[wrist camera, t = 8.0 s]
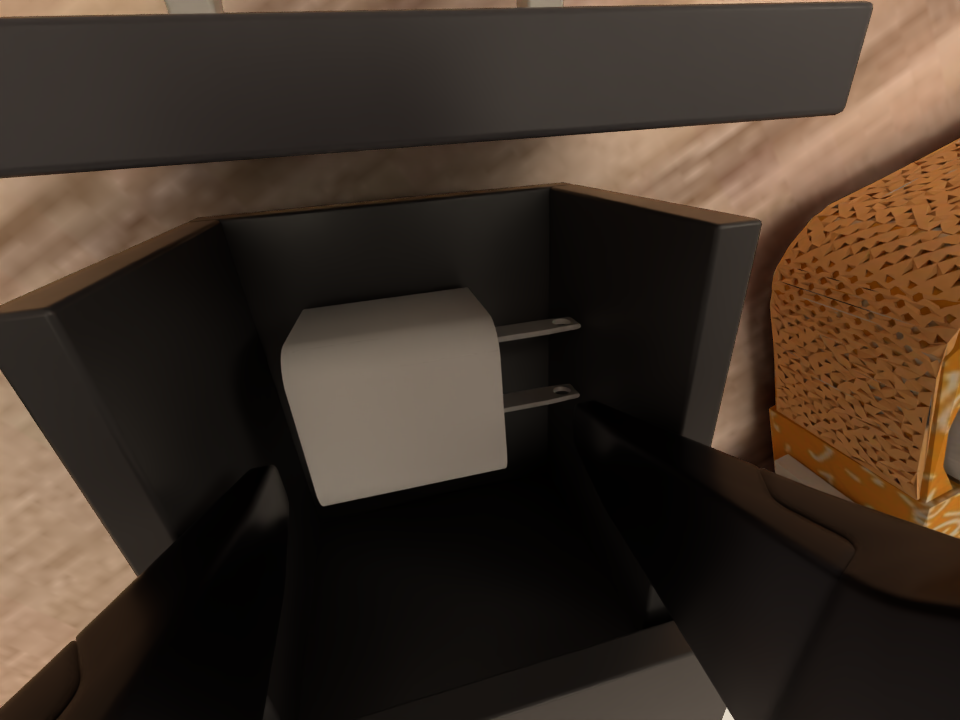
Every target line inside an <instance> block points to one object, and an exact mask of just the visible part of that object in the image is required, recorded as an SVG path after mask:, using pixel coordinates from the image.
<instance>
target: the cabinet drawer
mask: <svg viewBox="0 0 960 720" xmlns="http://www.w3.org/2000/svg"><path fill="white" fill-rule="evenodd" d="M164 1H165V4H166V7H167V10H168V13H169V14H139V15H84V16H29V17H0V178H11V177H24V176H37V175H50V174H63V173H76V172H90V171H103V170H116V169H129V168H142V167H156V166H169V165H182V164H195V163H208V162H221V161H235V160H248V159H261V158H274V157H287V156H300V155H314V154H327V153H340V152H353V151H366V150H380V149H393V148H406V147H419V146H432V145H445V144H459V143H472V142H485V141H498V140H511V139H524V138H538V137H551V136H564V135H577V134H590V133H604V132H617V131H630V130H643V129H656V128H669V127H683V126H696V125H709V124H722V123H735V122H748V121H762V120H775V119H788V118H801V117H814V116H828V115H836V114H838V113H840V112H842V111H843V109H844V108H845V106H846V102H847V99H848V95H849V92H850V88H851V84H852V81H853V77H854V74H855V70H856V67H857V63H858V60H859V56H860V53H861V49H862V45H863V42H864V38H865V35H866V31H867V28H868V24H869V21H870V17H871V14H872V10H873V4H872V3H870V2H867V1H855V2H800V3H745V4H689V5H634V6H579V7H563V0H517V8H469V9H414V10H359V11H304V12H249V13H224V10H223V6H222V2H221V0H164ZM761 226H762V223H761V221H760V220H758V219H755V218H750V217H744V216H739V215H734V214H728V213H723V212H718V211H713V210H707V209H702V208H697V207H691V206H686V205H681V204H676V203H670V202H665V201H660V200H654V199H649V198H644V197H638V196H633V195H628V194H623V193H617V192H612V191H607V190H601V189H596V188H591V187H586V186H580V185H573V184H569V183H564V182H561V183H551V184H541V185H530V186H520V187H510V188H499V189H489V190H479V191H468V192H458V193H448V194H437V195H427V196H417V197H406V198H396V199H386V200H375V201H365V202H355V203H345V204H334V205H324V206H314V207H303V208H293V209H283V210H272V211H262V212H252V213H241V214H231V215H221V216H210V217H200V218H196V219H194V220H192V221H190V222H188V223H185V224H183V225H181V226H178V227H176V228H174V229H172V230H169V231H167V232H165V233H163V234H160V235H158V236H156V237H153V238H151V239H149V240H147V241H144V242H142V243H140V244H138V245H135V246H133V247H131V248H129V249H126V250H124V251H122V252H120V253H117V254H115V255H113V256H111V257H108V258H106V259H104V260H102V261H99V262H97V263H95V264H93V265H90V266H88V267H86V268H84V269H81V270H79V271H77V272H75V273H72V274H70V275H68V276H66V277H63V278H61V279H59V280H56V281H54V282H52V283H50V284H47V285H45V286H43V287H41V288H38V289H36V290H34V291H32V292H29V293H27V294H25V295H23V296H20V297H18V298H16V299H14V300H11V301H9V302H7V303H5V304H2V305H0V369H1V371H2V372H3V374H4V375H5V377H6V378H7V380H8V381H9V383H10V384H11V386H12V387H13V389H14V391H15V392H16V394H17V395H18V397H19V398H20V400H21V401H22V403H23V404H24V406H25V407H26V409H27V410H28V412H29V413H30V415H31V416H32V418H33V419H34V421H35V422H36V424H37V425H38V427H39V428H40V430H41V431H42V433H43V434H44V436H45V437H46V439H47V440H48V442H49V443H50V445H51V447H52V448H53V450H54V451H55V453H56V454H57V456H58V457H59V459H60V460H61V462H62V463H63V465H64V466H65V468H66V469H67V471H68V472H69V474H70V475H71V477H72V478H73V480H74V481H75V483H76V484H77V486H78V487H79V489H80V490H81V492H82V493H83V495H84V496H85V498H86V499H87V501H88V503H89V504H90V506H91V507H92V509H93V510H94V512H95V513H96V515H97V516H98V518H99V519H100V521H101V522H102V524H103V525H104V527H105V528H106V530H107V531H108V533H109V534H110V536H111V537H112V539H113V540H114V542H115V543H116V545H117V546H118V548H119V549H120V551H121V552H122V554H123V555H124V557H125V558H126V560H127V562H128V563H129V565H130V566H131V568H132V569H133V571H134V572H135V574H136V575H137V577H138V576H139V575H141V574H142V573H143V572H144V571H145V570H146V569H147V568H148V567H149V566H150V565H151V564H152V563H153V562H154V561H155V560H156V559H157V558H158V557H159V556H160V555H161V554H162V553H163V552H164V551H165V550H166V549H167V548H169V547H170V546H171V545H172V544H173V543H174V542H175V541H176V540H177V539H178V538H179V537H180V536H181V535H182V534H183V533H184V532H185V531H186V530H187V529H188V528H189V527H190V526H191V525H192V524H193V523H194V522H196V521H197V520H198V519H199V518H200V517H201V516H202V515H203V514H204V513H205V512H206V511H207V510H208V509H209V508H210V507H211V506H212V505H213V504H214V503H215V502H216V501H217V500H218V499H219V498H220V497H221V496H222V495H224V494H225V493H226V492H227V491H228V490H229V489H230V488H231V487H232V486H233V485H234V484H235V483H236V482H237V481H238V480H239V479H240V478H241V477H242V476H243V475H244V474H245V473H246V472H247V471H249V470H250V469H252V468H256V467H261V466H266V465H274V466H275V467H276V468H277V470H278V472H279V475H280V477H281V480H282V483H283V486H284V488H285V491H286V494H287V497H288V501H289V522H288V542H287V563H286V580H285V590H284V597H283V603H282V609H281V615H280V621H279V627H278V633H277V639H276V645H275V651H274V656H273V662H272V668H271V674H270V680H269V686H268V692H267V698H266V704H265V710H264V715H263V720H351V719H354V718H357V717H361V716H364V715H367V714H370V713H374V712H377V711H380V710H383V709H386V708H390V707H393V706H396V705H399V704H403V703H406V702H409V701H412V700H416V699H419V698H422V697H425V696H429V695H432V694H435V693H438V692H442V691H445V690H448V689H451V688H455V687H458V686H461V685H464V684H468V683H471V682H474V681H477V680H481V679H484V678H487V677H490V676H494V675H497V674H500V673H503V672H506V671H510V670H513V669H516V668H519V667H523V666H526V665H529V664H532V663H536V662H539V661H542V660H545V659H549V658H552V657H555V656H558V655H562V654H565V653H568V652H571V651H575V650H578V649H581V648H584V647H588V646H591V645H594V644H597V643H601V642H604V641H607V640H610V639H614V638H617V637H620V636H623V635H626V634H630V633H633V632H636V631H639V630H643V629H646V628H649V627H652V626H656V625H659V624H662V623H665V622H669V621H671V616H670V614H669V612H668V611H667V609H666V607H665V606H664V604H663V602H662V601H661V599H660V598H659V596H658V594H657V593H656V591H655V589H654V588H653V586H652V585H651V583H650V581H649V580H648V578H647V576H646V575H645V573H644V571H643V570H642V568H641V567H640V565H639V563H638V562H637V560H636V558H635V557H634V555H633V554H632V552H631V550H630V549H629V547H628V545H627V544H626V542H625V541H624V539H623V537H622V536H621V534H620V532H619V531H618V529H617V527H616V526H615V524H614V523H613V521H612V519H611V518H610V516H609V514H608V513H607V511H606V509H605V507H604V506H603V504H602V502H601V500H600V498H599V496H598V494H597V491H596V489H595V487H594V485H593V483H592V481H591V479H590V477H589V474H588V472H587V470H586V468H585V466H584V464H583V462H582V459H581V457H580V455H579V453H578V451H577V449H576V447H575V444H574V440H573V419H574V408H575V405H576V404H577V403H581V402H586V401H591V400H595V401H598V402H600V403H603V404H605V405H608V406H610V407H613V408H615V409H617V410H620V411H622V412H625V413H627V414H630V415H632V416H635V417H637V418H640V419H642V420H645V421H647V422H650V423H652V424H655V425H657V426H660V427H662V428H665V429H667V430H670V431H672V432H674V433H677V434H679V435H682V436H684V437H687V438H689V439H692V440H694V441H697V442H699V443H702V444H704V445H707V446H709V447H711V443H712V439H713V435H714V430H715V426H716V422H717V417H718V413H719V409H720V404H721V400H722V396H723V391H724V387H725V383H726V378H727V374H728V370H729V365H730V361H731V356H732V352H733V348H734V343H735V339H736V335H737V330H738V326H739V322H740V317H741V313H742V309H743V304H744V300H745V296H746V291H747V287H748V283H749V278H750V274H751V269H752V265H753V261H754V256H755V252H756V248H757V243H758V239H759V235H760V230H761ZM465 287H467V288H468V289H469V290H470V291H471V292H472V294H473V295H474V296H475V297H476V298H477V300H478V301H479V302H480V303H481V305H482V306H483V307H484V308H485V309H486V311H487V312H488V313H489V314H490V316H491V318H492V320H493V323H494V326H495V327H499V326H505V325H512V324H518V323H525V322H531V321H538V320H546V319H554V318H562V317H571V318H572V319H574V320H575V321H576V322H578V323H579V324H580V325H581V327H580V328H578V329H574V330H569V331H564V332H558V333H553V334H548V335H542V336H535V337H529V338H523V339H516V340H510V341H504V342H498V343H499V349H500V360H501V374H502V389H503V394H508V393H513V392H519V391H524V390H530V389H535V388H541V387H548V386H556V385H563V384H571V385H572V386H573V387H574V389H575V390H576V391H577V392H578V393H579V394H580V396H579V397H578V398H574V399H570V400H565V401H561V402H557V403H552V404H548V405H542V406H537V407H532V408H526V409H521V410H516V411H510V412H505V413H504V418H505V433H506V447H507V467H506V468H504V469H499V470H495V471H490V472H485V473H480V474H475V475H471V476H466V477H461V478H456V479H452V480H447V481H442V482H437V483H432V484H428V485H423V486H418V487H413V488H409V489H404V490H399V491H394V492H389V493H385V494H380V495H375V496H370V497H366V498H361V499H356V500H351V501H346V502H342V503H337V504H332V505H327V506H322V505H321V504H320V502H319V500H318V498H317V495H316V492H315V488H314V485H313V482H312V478H311V475H310V472H309V468H308V465H307V462H306V458H305V455H304V452H303V449H302V445H301V442H300V439H299V435H298V432H297V429H296V425H295V422H294V419H293V415H292V412H291V409H290V405H289V402H288V399H287V395H286V392H285V388H284V384H283V379H282V371H281V351H282V347H283V344H284V343H285V341H286V339H287V337H288V336H289V334H290V332H291V330H292V328H293V327H294V325H295V323H296V321H297V319H298V318H299V316H300V314H301V312H302V311H303V310H304V309H310V308H318V307H325V306H333V305H340V304H347V303H355V302H362V301H369V300H377V299H384V298H391V297H399V296H406V295H414V294H421V293H428V292H436V291H443V290H450V289H458V288H465ZM557 325H566V324H557ZM555 393H556V394H560V395H564V394H568V393H569V392H566V391H557V392H555Z"/></svg>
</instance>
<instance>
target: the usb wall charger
mask: <svg viewBox="0 0 960 720" xmlns="http://www.w3.org/2000/svg"><path fill="white" fill-rule="evenodd" d="M557 324H566V325H557ZM580 327H581V325H580V324H579V323H578V322H576V321H575V320H574V319H572V318H571V317H562V318H554V319H546V320H538V321H531V322H525V323H518V324H512V325H505V326H499V327H495V326H494V323H493V320H492V318H491V316H490V314H489V313H488V312H487V311H486V309H485V308H484V307H483V306H482V305H481V303H480V302H479V301H478V300H477V298H476V297H475V296H474V295H473V294H472V292H471V291H470V290H469V289H468V288H467V287H465V288H458V289H450V290H443V291H436V292H428V293H421V294H414V295H406V296H399V297H391V298H384V299H377V300H369V301H362V302H355V303H347V304H340V305H333V306H325V307H318V308H310V309H304V310H303V311H302V312H301V314H300V316H299V318H298V319H297V321H296V323H295V325H294V327H293V328H292V330H291V332H290V334H289V336H288V337H287V339H286V341H285V343H284V344H283V347H282V351H281V371H282V379H283V384H284V388H285V392H286V395H287V399H288V402H289V405H290V409H291V412H292V415H293V419H294V422H295V425H296V429H297V432H298V435H299V439H300V442H301V445H302V449H303V452H304V455H305V458H306V462H307V465H308V468H309V472H310V475H311V478H312V482H313V485H314V488H315V492H316V495H317V498H318V500H319V502H320V504H321V505H322V506H327V505H332V504H337V503H342V502H346V501H351V500H356V499H361V498H366V497H370V496H375V495H380V494H385V493H389V492H394V491H399V490H404V489H409V488H413V487H418V486H423V485H428V484H432V483H437V482H442V481H447V480H452V479H456V478H461V477H466V476H471V475H475V474H480V473H485V472H490V471H495V470H499V469H504V468H506V467H507V447H506V433H505V418H504V413H505V412H510V411H516V410H521V409H526V408H532V407H537V406H542V405H548V404H552V403H557V402H561V401H565V400H570V399H574V398H578V397H579V396H580V394H579V393H578V392H577V391H576V390H575V389H574V387H573V386H572V385H571V384H563V385H556V386H548V387H541V388H535V389H530V390H524V391H519V392H513V393H508V394H503V389H502V374H501V360H500V349H499V343H498V342H504V341H510V340H516V339H523V338H529V337H535V336H542V335H548V334H553V333H558V332H564V331H569V330H574V329H578V328H580ZM557 391H566V392H569V393H568V394H564V395H560V394H556V393H555V392H557Z"/></svg>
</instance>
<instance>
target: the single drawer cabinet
mask: <svg viewBox="0 0 960 720" xmlns="http://www.w3.org/2000/svg"><path fill="white" fill-rule="evenodd" d="M725 710H726V705H725V704H724V702H723V700H722V699H721V697H720V695H719V694H718V692H717V690H716V689H715V687H714V686H713V684H712V682H711V681H710V679H709V677H708V676H707V674H706V673H705V671H704V669H703V668H702V666H701V664H700V663H699V661H698V660H697V658H696V656H695V655H694V653H693V651H692V650H691V648H690V646H689V645H688V643H687V642H686V640H685V638H684V637H683V635H682V633H681V632H680V630H679V629H678V627H677V625H676V624H675V622H674V620H673V619H672V617H671V621H669V622H665V623H662V624H659V625H656V626H652V627H649V628H646V629H643V630H639V631H636V632H633V633H630V634H626V635H623V636H620V637H617V638H614V639H610V640H607V641H604V642H601V643H597V644H594V645H591V646H588V647H584V648H581V649H578V650H575V651H571V652H568V653H565V654H562V655H558V656H555V657H552V658H549V659H545V660H542V661H539V662H536V663H532V664H529V665H526V666H523V667H519V668H516V669H513V670H510V671H506V672H503V673H500V674H497V675H494V676H490V677H487V678H484V679H481V680H477V681H474V682H471V683H468V684H464V685H461V686H458V687H455V688H451V689H448V690H445V691H442V692H438V693H435V694H432V695H429V696H425V697H422V698H419V699H416V700H412V701H409V702H406V703H403V704H399V705H396V706H393V707H390V708H386V709H383V710H380V711H377V712H374V713H370V714H367V715H364V716H361V717H357V718H354V719H351V720H722V718H723V715H724V712H725Z"/></svg>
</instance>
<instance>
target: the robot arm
mask: <svg viewBox="0 0 960 720" xmlns="http://www.w3.org/2000/svg"><path fill="white" fill-rule="evenodd" d="M573 440H574V444H575V447H576V449H577V451H578V453H579V455H580V457H581V459H582V462H583V464H584V466H585V468H586V470H587V472H588V474H589V477H590V479H591V481H592V483H593V485H594V487H595V489H596V491H597V494H598V496H599V498H600V500H601V502H602V504H603V506H604V507H605V509H606V511H607V513H608V514H609V516H610V518H611V519H612V521H613V523H614V524H615V526H616V527H617V529H618V531H619V532H620V534H621V536H622V537H623V539H624V541H625V542H626V544H627V545H628V547H629V549H630V550H631V552H632V554H633V555H634V557H635V558H636V560H637V562H638V563H639V565H640V567H641V568H642V570H643V571H644V573H645V575H646V576H647V578H648V580H649V581H650V583H651V585H652V586H653V588H654V589H655V591H656V593H657V594H658V596H659V598H660V599H661V601H662V602H663V604H664V606H665V607H666V609H667V611H668V612H669V614H670V616H671V617H672V619H673V620H674V622H675V624H676V625H677V627H678V629H679V630H680V632H681V633H682V635H683V637H684V638H685V640H686V642H687V643H688V645H689V646H690V648H691V650H692V651H693V653H694V655H695V656H696V658H697V660H698V661H699V663H700V664H701V666H702V668H703V669H704V671H705V673H706V674H707V676H708V677H709V679H710V681H711V682H712V684H713V686H714V687H715V689H716V690H717V692H718V694H719V695H720V697H721V699H722V700H723V702H724V704H725V705H726V707H727V708H728V710H729V712H730V713H731V715H732V716H733V718H734V720H960V539H959V538H956V537H953V536H950V535H947V534H944V533H941V532H938V531H935V530H933V529H930V528H927V527H924V526H921V525H918V524H915V523H912V522H909V521H906V520H903V519H900V518H897V517H895V516H892V515H889V514H886V513H883V512H880V511H877V510H874V509H871V508H868V507H865V506H862V505H860V504H857V503H854V502H851V501H848V500H845V499H842V498H840V497H837V496H834V495H831V494H828V493H826V492H823V491H820V490H817V489H815V488H812V487H809V486H807V485H804V484H802V483H799V482H796V481H794V480H791V479H789V478H786V477H783V476H781V475H779V474H776V473H774V472H771V471H769V470H766V469H764V468H760V469H759V468H758V466H756V465H754V464H751V463H749V462H746V461H744V460H741V459H739V458H736V457H734V456H731V455H729V454H726V453H724V452H722V451H719V450H717V449H714V448H712V447H709V446H707V445H704V444H702V443H699V442H697V441H694V440H692V439H689V438H687V437H684V436H682V435H679V434H677V433H674V432H672V431H670V430H667V429H665V428H662V427H660V426H657V425H655V424H652V423H650V422H647V421H645V420H642V419H640V418H637V417H635V416H632V415H630V414H627V413H625V412H622V411H620V410H617V409H615V408H613V407H610V406H608V405H605V404H603V403H600V402H598V401H595V400H591V401H586V402H581V403H577V404H576V405H575V408H574V419H573ZM288 522H289V501H288V497H287V494H286V491H285V488H284V486H283V483H282V480H281V477H280V475H279V472H278V470H277V468H276V467H275V466H274V465H266V466H261V467H256V468H252V469H250V470H249V471H247V472H246V473H245V474H244V475H243V476H242V477H241V478H240V479H239V480H238V481H237V482H236V483H235V484H234V485H233V486H232V487H231V488H230V489H229V490H228V491H227V492H226V493H225V494H224V495H222V496H221V497H220V498H219V499H218V500H217V501H216V502H215V503H214V504H213V505H212V506H211V507H210V508H209V509H208V510H207V511H206V512H205V513H204V514H203V515H202V516H201V517H200V518H199V519H198V520H197V521H196V522H194V523H193V524H192V525H191V526H190V527H189V528H188V529H187V530H186V531H185V532H184V533H183V534H182V535H181V536H180V537H179V538H178V539H177V540H176V541H175V542H174V543H173V544H172V545H171V546H170V547H169V548H167V549H166V550H165V551H164V552H163V553H162V554H161V555H160V556H159V557H158V558H157V559H156V560H155V561H154V562H153V563H152V564H151V565H150V566H149V567H148V568H147V569H146V570H145V571H144V572H143V573H142V574H141V575H139V576H138V577H137V578H136V579H135V580H134V581H133V582H132V583H131V584H130V585H129V586H128V587H127V588H126V589H125V590H124V591H123V592H122V593H121V594H120V595H119V596H118V597H117V598H116V599H115V600H114V601H112V602H111V603H110V604H109V605H108V606H107V607H106V608H105V609H104V610H103V611H102V612H101V613H100V614H99V615H98V616H97V617H96V618H95V619H94V620H93V621H92V622H91V623H90V624H89V625H88V626H87V627H85V628H84V629H83V630H82V631H81V632H80V633H79V634H78V635H77V637H76V641H72V642H70V643H69V644H68V645H67V646H66V647H65V648H63V649H62V650H61V651H60V652H59V653H58V654H57V655H56V656H55V657H54V658H53V659H52V660H51V661H50V662H49V663H48V664H47V665H46V666H45V667H44V668H43V669H42V670H41V671H40V672H38V673H37V674H36V675H35V676H34V677H33V678H32V679H31V680H30V681H29V682H28V683H27V684H26V685H25V686H24V687H22V688H21V689H20V690H19V691H18V692H17V693H16V694H15V695H14V696H13V697H12V698H11V699H10V700H9V701H7V702H6V703H5V704H4V705H3V706H2V707H1V708H0V720H263V715H264V710H265V704H266V698H267V692H268V686H269V680H270V674H271V668H272V662H273V656H274V651H275V645H276V639H277V633H278V627H279V621H280V615H281V609H282V603H283V597H284V590H285V580H286V563H287V542H288Z"/></svg>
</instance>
